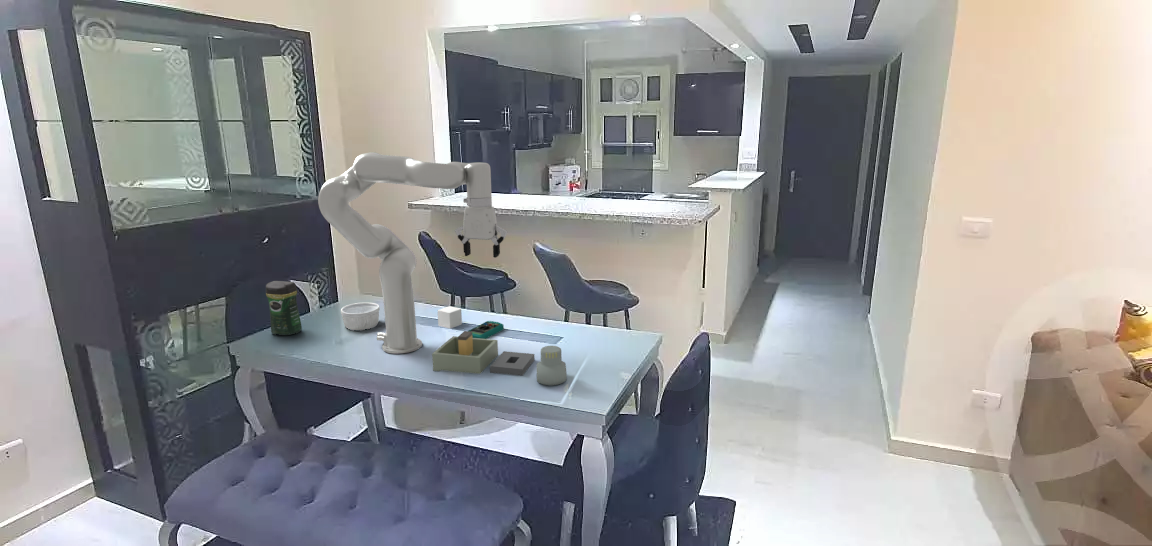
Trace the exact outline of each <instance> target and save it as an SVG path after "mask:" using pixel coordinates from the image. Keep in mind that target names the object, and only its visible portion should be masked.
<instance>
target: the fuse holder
mask: <svg viewBox="0 0 1152 546" xmlns="http://www.w3.org/2000/svg"><path fill="white" fill-rule="evenodd" d="M535 360H536V359H535V353H529V352H528V353H525V352H516V351H502V353H500V355H498V356H497V357H496V358H495V359H494V360H493V361H492V362H491V363H490V365H489V371H490V374H491V373H493V374H501V375H511V376H524V375H525V373H526V372H527V371H528V369H529V368H530V367H531V365H532V364H533V363H534V362H535Z"/></svg>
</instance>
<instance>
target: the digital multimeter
mask: <svg viewBox="0 0 1152 546" xmlns="http://www.w3.org/2000/svg"><path fill="white" fill-rule="evenodd" d="M503 330H504V324H503V323H501V322H498V321H494V320H493V321H492V320H487V321H485V322H483V323H480V324H479V325H477V326H475V327H473V328H470V329H469V330H468V331H470V332H472V338H480V339H489V338H490V337H492V336H495V334H498V333H500V332H502V331H503Z"/></svg>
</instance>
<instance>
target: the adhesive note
mask: <svg viewBox="0 0 1152 546" xmlns="http://www.w3.org/2000/svg"><path fill="white" fill-rule="evenodd" d="M462 318H463V317H462V308H460V307H455V306H450V305H448V306H446V307H443V308H439V309H437V324H438V326H437V327H442V328H446V329H453V328H455V327H458V326H462V325H463V319H462Z"/></svg>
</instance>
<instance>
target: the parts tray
mask: <svg viewBox="0 0 1152 546" xmlns="http://www.w3.org/2000/svg"><path fill="white" fill-rule="evenodd" d="M498 341H499V340H498V339H491V338H490V339H489V338H487V339H480V338H473V352H472V356H469V355H459V346H458V336H455V335H453V336H452V337H450V338H449V339H448V340H447V341H446V342H444V343H443V344H442V345H440V346H439V347H438V348H437V349H436V350H434V351H433V352H432V353H431V356H432V357H431V358H432V371H435V372H440V371H445V372H446V371H447V372H456V373H457V372H458V373H466V374H468V373H469V374H477V375H478V374H479V375H481V374H482V373H483V371H484V370H485V369H487V367H489V366H490V365H491V364H492V363H493V362H494V361H495V360H496V359H497V358H498V357H499V346H498V345H499V343H498Z"/></svg>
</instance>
